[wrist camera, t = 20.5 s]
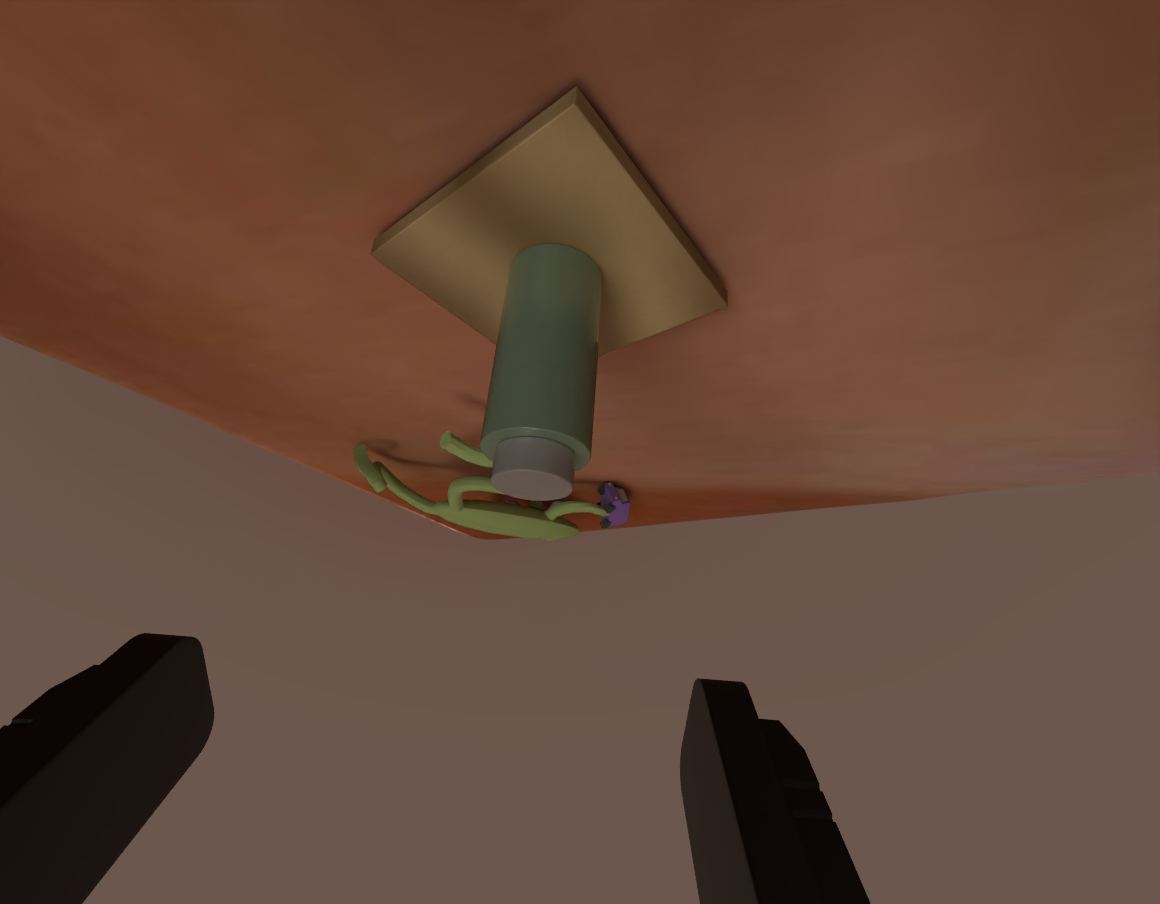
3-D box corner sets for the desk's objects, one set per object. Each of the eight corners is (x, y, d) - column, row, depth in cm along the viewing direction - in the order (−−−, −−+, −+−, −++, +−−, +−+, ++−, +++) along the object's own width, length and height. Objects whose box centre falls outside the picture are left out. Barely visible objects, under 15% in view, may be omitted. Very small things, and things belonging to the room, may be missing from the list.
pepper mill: (550, 321, 28) (528, 512, 24) (488, 269, 25) (450, 477, 21) (621, 288, 26) (610, 495, 21) (562, 226, 23) (535, 453, 18)
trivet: (544, 359, 34) (542, 378, 33) (375, 232, 26) (368, 255, 25) (727, 284, 27) (728, 306, 26) (577, 77, 19) (574, 103, 18)
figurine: (501, 376, 36) (488, 453, 34) (661, 506, 57) (661, 560, 54) (325, 427, 45) (305, 490, 43) (517, 524, 66) (512, 570, 63)
